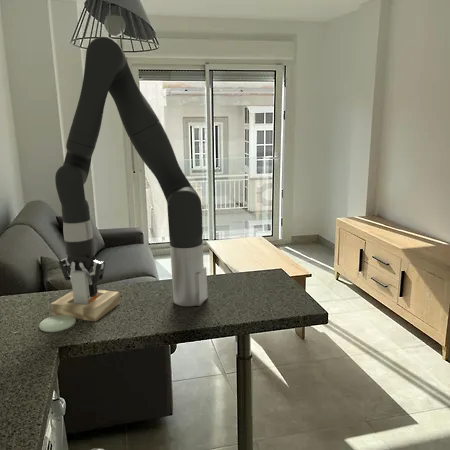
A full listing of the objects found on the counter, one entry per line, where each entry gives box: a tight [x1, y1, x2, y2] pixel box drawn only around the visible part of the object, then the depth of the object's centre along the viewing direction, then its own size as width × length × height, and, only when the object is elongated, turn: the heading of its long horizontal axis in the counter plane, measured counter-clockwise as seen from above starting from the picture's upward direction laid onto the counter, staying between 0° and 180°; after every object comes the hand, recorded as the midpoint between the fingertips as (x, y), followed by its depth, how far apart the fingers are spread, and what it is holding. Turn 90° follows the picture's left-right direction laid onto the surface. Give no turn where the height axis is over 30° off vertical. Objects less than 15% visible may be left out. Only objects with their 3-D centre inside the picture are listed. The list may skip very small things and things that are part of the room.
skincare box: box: [71, 267, 97, 305], centre depth 123 cm, size 6×4×12 cm
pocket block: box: [50, 289, 121, 322], centre depth 124 cm, size 14×12×4 cm
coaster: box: [38, 315, 76, 333], centre depth 116 cm, size 9×9×1 cm
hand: (85, 294), depth 124 cm, fingers closed on skincare box, 4 cm apart
